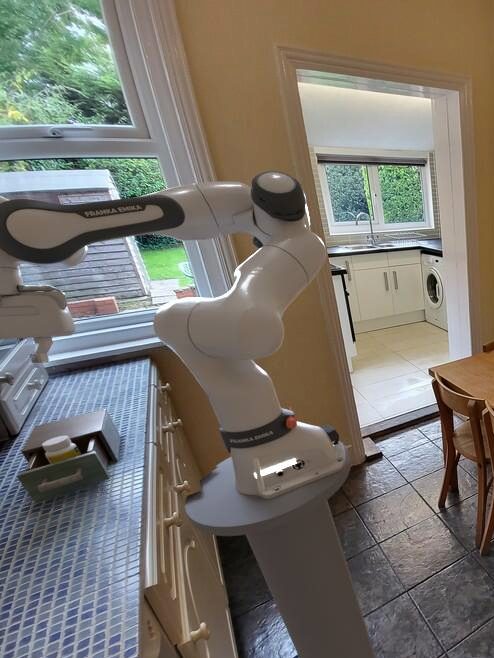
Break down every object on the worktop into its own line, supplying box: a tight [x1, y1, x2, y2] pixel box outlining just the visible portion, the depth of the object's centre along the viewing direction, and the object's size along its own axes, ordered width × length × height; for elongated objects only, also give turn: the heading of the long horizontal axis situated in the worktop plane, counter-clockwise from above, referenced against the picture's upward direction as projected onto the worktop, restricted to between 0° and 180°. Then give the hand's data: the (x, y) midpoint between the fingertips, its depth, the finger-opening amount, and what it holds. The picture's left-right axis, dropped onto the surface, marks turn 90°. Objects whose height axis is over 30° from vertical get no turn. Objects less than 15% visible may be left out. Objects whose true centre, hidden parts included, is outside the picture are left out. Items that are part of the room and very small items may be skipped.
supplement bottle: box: [42, 436, 82, 464], centre depth 88 cm, size 5×5×8 cm
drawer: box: [16, 434, 111, 504], centre depth 87 cm, size 18×11×7 cm, turn 39°
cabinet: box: [20, 408, 122, 465], centre depth 97 cm, size 15×13×9 cm
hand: (6, 365), depth 74 cm, fingers open, 8 cm apart
